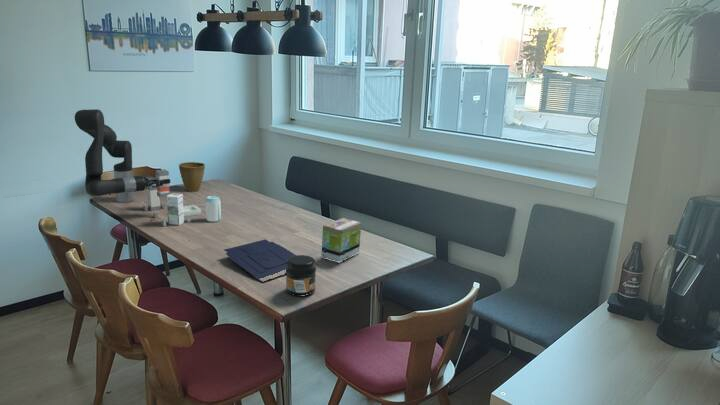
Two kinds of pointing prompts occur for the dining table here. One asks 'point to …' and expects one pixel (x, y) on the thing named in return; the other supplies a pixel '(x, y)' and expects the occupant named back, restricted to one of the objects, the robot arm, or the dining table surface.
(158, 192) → the marked fuse
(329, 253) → the tea box
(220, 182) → the dining table surface
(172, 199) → the syrup box
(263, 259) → the dark blue book
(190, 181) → the plant pot
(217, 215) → the can
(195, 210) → the tray
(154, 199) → the block
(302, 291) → the supplement container
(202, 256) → the dining table surface
